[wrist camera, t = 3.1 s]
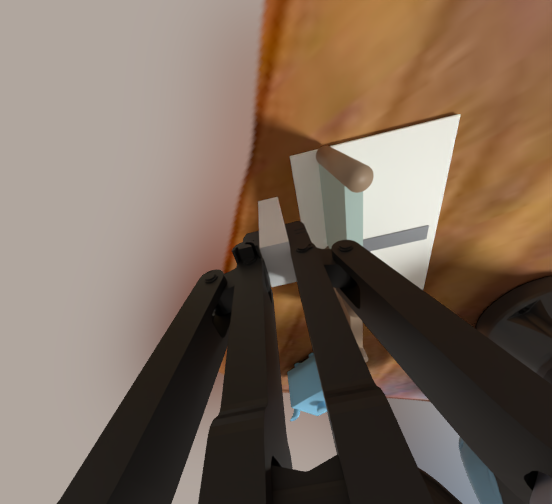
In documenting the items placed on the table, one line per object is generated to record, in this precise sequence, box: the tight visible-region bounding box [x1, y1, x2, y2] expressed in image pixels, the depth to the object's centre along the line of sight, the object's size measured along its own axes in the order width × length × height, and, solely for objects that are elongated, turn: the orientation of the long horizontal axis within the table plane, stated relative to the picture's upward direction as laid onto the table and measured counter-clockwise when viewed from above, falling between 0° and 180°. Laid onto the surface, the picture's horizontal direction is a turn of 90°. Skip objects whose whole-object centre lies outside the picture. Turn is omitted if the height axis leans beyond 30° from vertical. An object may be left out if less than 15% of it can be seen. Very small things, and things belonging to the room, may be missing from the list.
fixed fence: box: [325, 246, 368, 363], centre depth 24 cm, size 11×2×9 cm, turn 12°
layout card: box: [290, 114, 461, 290], centre depth 25 cm, size 21×15×1 cm
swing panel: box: [316, 145, 374, 249], centre depth 18 cm, size 10×2×8 cm, turn 12°
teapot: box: [287, 353, 327, 421], centre depth 36 cm, size 12×6×8 cm, turn 139°
